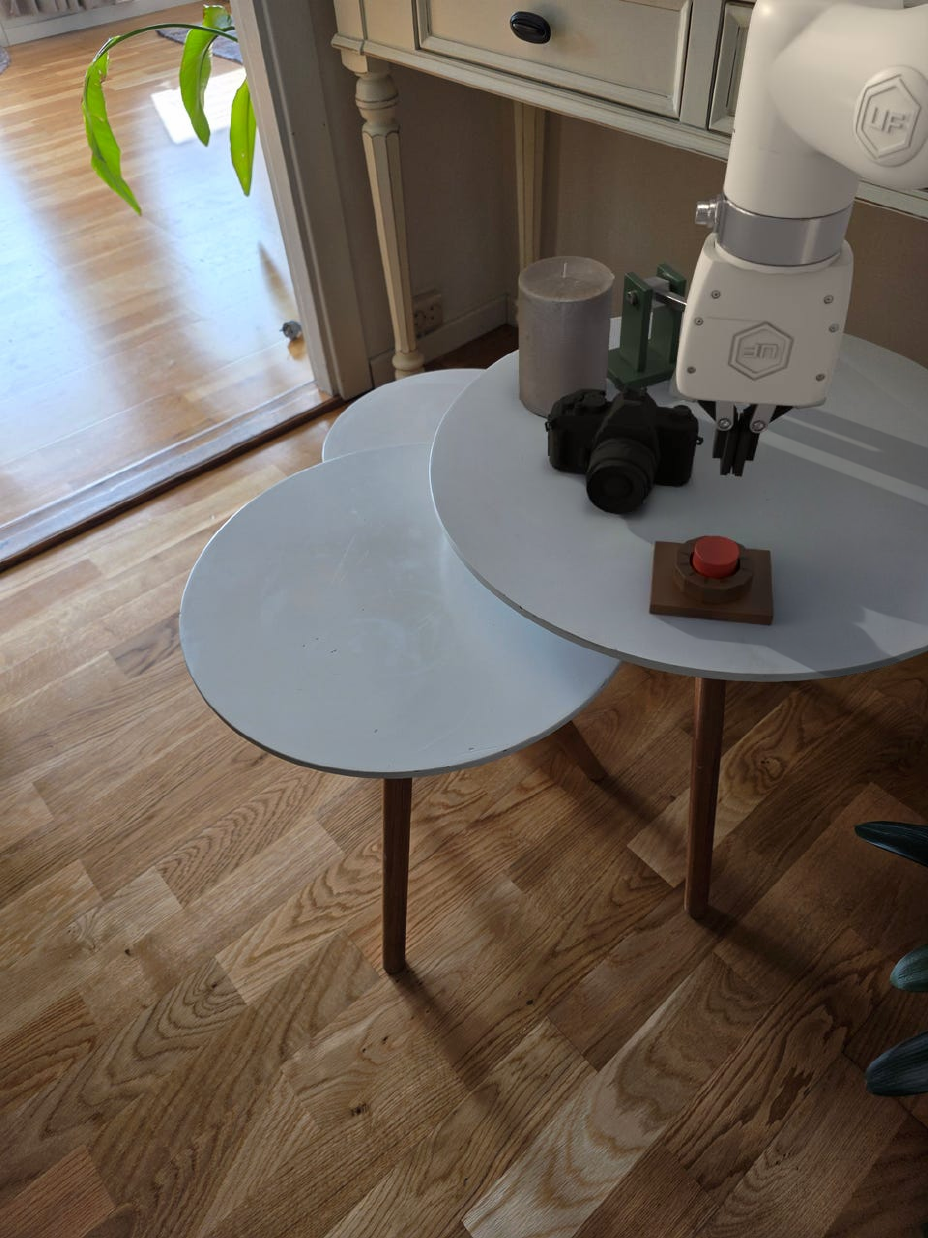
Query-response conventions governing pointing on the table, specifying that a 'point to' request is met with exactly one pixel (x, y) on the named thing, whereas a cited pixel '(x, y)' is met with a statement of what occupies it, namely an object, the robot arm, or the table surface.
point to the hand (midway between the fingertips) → (730, 464)
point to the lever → (665, 295)
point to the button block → (711, 586)
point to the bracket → (646, 333)
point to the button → (715, 557)
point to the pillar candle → (563, 329)
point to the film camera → (621, 445)
